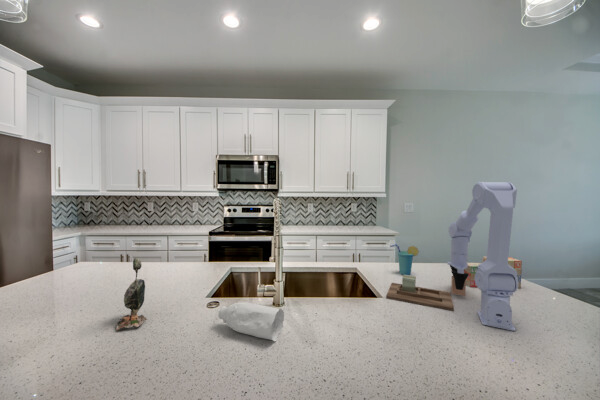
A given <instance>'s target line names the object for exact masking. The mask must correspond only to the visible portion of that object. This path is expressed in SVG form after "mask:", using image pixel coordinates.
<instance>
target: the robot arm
mask: <svg viewBox="0 0 600 400" xmlns="http://www.w3.org/2000/svg"><path fill="white" fill-rule="evenodd" d="M471 194H472V199H471V201H470V203H469V205H468V208H467V209H466V210H463V211H462V212H461V213H460V215H459V216H458V218H457V220H456V221H454V222H450V223H449V226H448V233H449V236H450V237H451V240H450V241H451V242H450V243H451V244H450V261H447V263H446V264H447V265H449V267H450V269H451V270H450V271H451V274H452V276H454V280H455V286H456V289H458V290H463V287H464V283H465V280H466V278H467V277H468V276H469V274H468V273H464V270H465V269H466V268H467V267H468V265H467V263H468V256H469V255H468V251H469V243H470V241H471V237H472V234H473V232H472V229H473V228H474V227H475V225H476V224H477V222H478V221H479V216H478V215H479V214H480V213H481V212H482V211H483V209H484V208H485V209H487V210H488V211H489V212H490V217H489V229H488V239H487V250H486V251H487V252H486V257H487V260H486V261H484V262H483V261H482V262H480V263H481V264H479V265H478V269H477V272H476V274H475V283H476V286H477V287H476V288H477V289H478V290H479V291H480V310H477V311H476V312H477V314H478V317H479V320H480V322H481V324H482V325H484V326H489V327H494V328H499V329H504V330H509V331H512V332H516V331H517V330H516V328H515V327H514V325H513V322H512V319H513V318H512V316H513V315H512V314H513V308H512V307H511V296H512V297H513V296H514V293H516V292H517V291H518V280H517V271H516V270H515V269H514V268H513V267H511V266H510V265H509V264H508V257H509V255H510V245H511V244H510V243H511V234H512V223H513V214H514V209H515V208H516V201H517V187H516V186H515V185H514V184H513V183H512V182H511V181H505V182H504V181H499V182H498V181H496V182H495V181H492V182H490V181H478V182H476V183H474V185H473V187H472V189H471Z"/></svg>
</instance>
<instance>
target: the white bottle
mask: <svg viewBox="0 0 600 400" xmlns="http://www.w3.org/2000/svg"><path fill="white" fill-rule="evenodd" d="M217 315H218V318H219V319H220V320H222V323H223V324H226V325H227V326H228V327H229V328H231V329H232V330H233V331H235V332H237V333H239V334H245V335H247V336H248V335H249V336H253V337H256V338H260V339H266V340H270V341H272V342H277V338H279V333H280V332H282V330H283V328H284V321H285V312H284V310H283V309H282V308H277V307H271V306H267V305H261V304H257V303H253V302H252V303H251V302H246V301H243V302H235V303H232V304H231V305H230V306H225V305H221V307H220V309H219V311H218V314H217Z"/></svg>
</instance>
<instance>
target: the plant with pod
mask: <svg viewBox="0 0 600 400" xmlns="http://www.w3.org/2000/svg"><path fill="white" fill-rule="evenodd" d="M142 266H143V265H142V260H140V258H138V257H134V258H133V261H132V269H133V271H134V272H135V280H133V282H131V283H130V284H129V286H128V287H127V289H126V291H125V292H124V295H123V303H124V307H125V308H126V309H128V310H130V314H126V315H124V316H122V318H120V319H119V320H118V321H117V322H116V323H115V327H116V329H115V330H116V331H119V330H121V329H123V328H125V329H126V328H129V329H132V328H134V329H137V328H140V327H141V326H142V325H143V323H144V322H146V321H147V317H145V315H143V314H141V315H139V314H138V312H139V311H140V309H141V308H142V306H143V305H144V302H145V290H146V282H145V280H144V279H142V278H138V279H137V277H138V273H139V270H141V268H142Z"/></svg>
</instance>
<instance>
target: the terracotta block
mask: <svg viewBox="0 0 600 400" xmlns="http://www.w3.org/2000/svg"><path fill="white" fill-rule="evenodd" d="M450 283H451V288H450V289H451V290H450V291H451V295H459V296H464V297H466V292H467V291H466V286H467V285H466V280H465V283H464V287H463V290H458V289H456V286H455V280H454V276H453V275H451V282H450Z"/></svg>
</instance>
